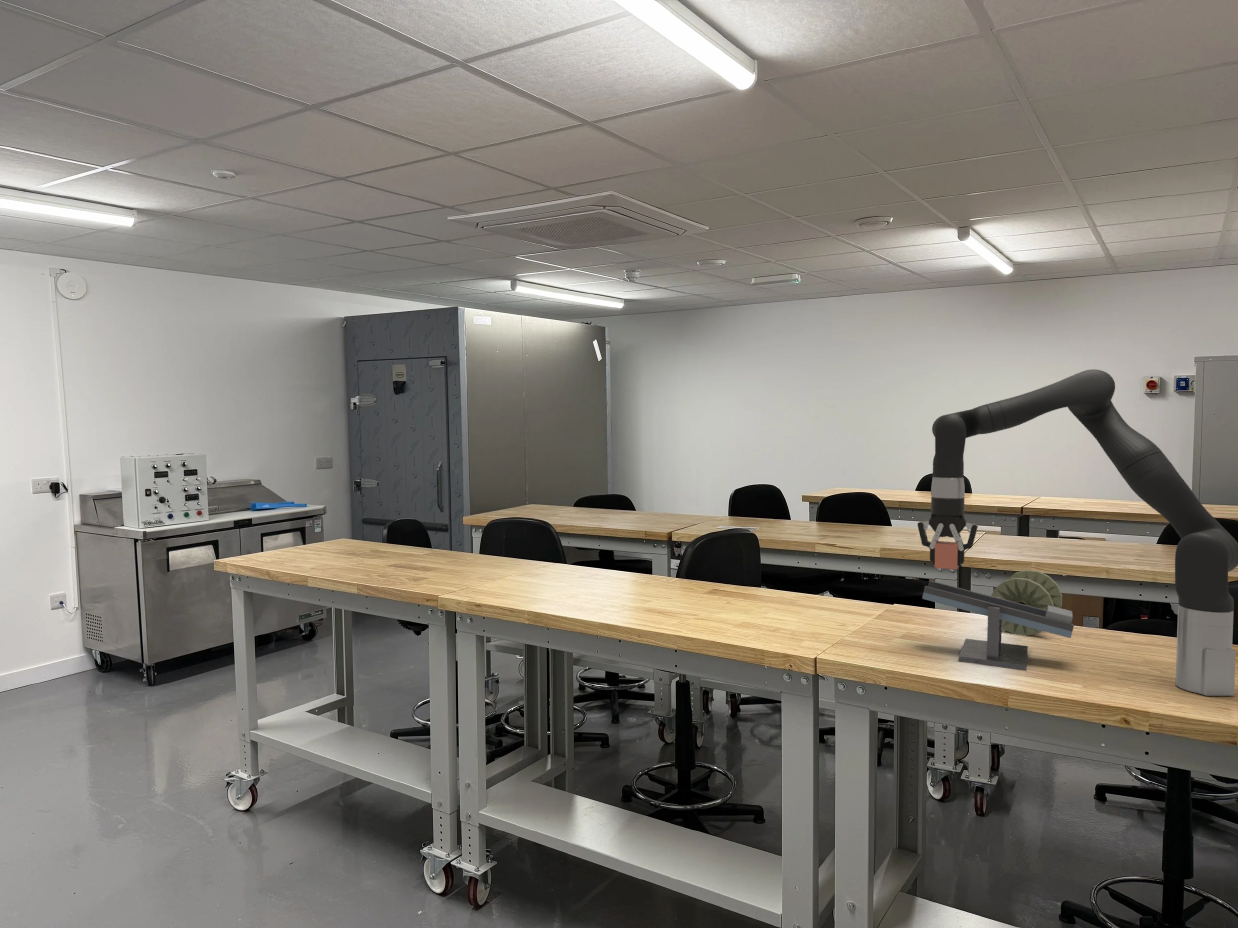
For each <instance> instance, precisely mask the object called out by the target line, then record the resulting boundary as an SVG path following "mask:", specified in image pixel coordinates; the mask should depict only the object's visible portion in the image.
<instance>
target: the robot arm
mask: <svg viewBox="0 0 1238 928" xmlns="http://www.w3.org/2000/svg"><path fill="white" fill-rule="evenodd" d="M1115 392H1116V382H1115V380H1114V378H1113V376H1111V374H1109V372H1106V371H1104V370H1101V369H1086V370H1083V371H1080V372H1078V373H1075V374H1073V375H1071V376H1068V377H1066V378H1063V379H1061V380H1059V381H1056V382H1054V383H1051V384H1048V385H1045V386H1043V387H1041V388H1038V389H1037V388H1036V389H1035V390H1032V391H1028V392H1025V393H1022V394H1018V395H1016V396H1013V397H1008V398H1004V399H1000V400H997V401H993V402H988V403H986V404H983V405H979V406H977V407H974V408H971V409H965V410H960V411H957V412H951V413H948V414H943V415H941V416H938V417H937V418H936V419H935V420H934V421H933V423H932V426H931V431H932V434H933V437H934V455H933V460H932V481H931V487H930V488H931V490H930V499H931V501H930V503H931V504H930V518H929V519H928V520H927V521H918V522H917V528H918V532H919V538H920V541H921V545H922V546H923V547H927V548H928V549H929V561H930V562H931V563H932V565H935V543H937V542H938V541H940V538H946V537H947V538H952V539H954V542H956V544H958V549H959V550H958V566H959V567H962V565H963V564H964V563H965V551H966V550H970V549H972V548H973V546H974V542H975V538H976V534H977V532H978V528H979V525H978V524H977V523H969V522H967V521H966V519H965V493H966V492H965V491H966V490H965V488H966V487H965V478H964V477H965V475H964V473H965V471H964V468H965V466H964V465H965V462H964V453H965V447H966V439H967V438H972V437H975V436H978V435H988V434H992V433H997V432H1000V431H1005V430H1008V429H1012V428H1014V427H1017V426H1020V425H1022V424H1024V423H1027V422H1030V421H1032V420H1034V419H1037V417H1040V416H1043V415H1045V414H1048V413H1050V412H1053V411H1056V410H1059V409H1063V408H1067V409H1068V410H1069V411H1070V413H1071V414H1072V415H1073V416H1074V417H1075V418H1076V419H1077V421H1079V422H1080V423H1081V424H1082V425H1083V426H1084V428H1085V429H1086V430H1087V432H1089V433H1090V435H1092V436H1093V437H1094V438H1095V440H1096V441H1097V443H1098V444H1099V445H1100V447H1101V449H1102V451H1103V452H1104V453H1105V455H1106V456H1107V458H1108V459H1109V460H1110V462H1111V463H1112V464H1113V465H1114V467H1115V468H1116V470H1117V471H1118V473H1119V475H1120V476H1121V477H1122V479H1123V480H1124V481H1125V482H1126V484H1127V485H1128V486H1129V488H1130V490H1132V491H1133V492H1134V493H1135V494H1136V495H1137V497H1139V498H1140V500H1142V501H1143V502H1144V503H1146V504H1147V505H1148V506H1149V507H1151V508H1152V509H1153V510H1154V511H1156V512H1157V514H1159V515H1161V516H1162V517H1163V519H1165V520H1167V521H1168V523H1169V524H1170V525H1171V526H1172V528H1174V531H1175V532H1176V534H1178V536H1179V537H1180V540H1179V542H1178V543H1177V545H1176V549H1175V554H1174V555H1175V556H1174V558H1175V559H1174V587H1175V592H1176V595H1177V597H1178V606H1177V632H1176V633H1177V634H1176V659H1175V661H1176V665H1175V685H1176V687H1178V688H1179V689H1182V690H1184V691H1188V692H1191V693H1195V694H1200V695H1203V696H1208V697H1209V696H1211V697H1212V696H1213V697H1214V696H1218V697H1220V696H1221V697H1222V696H1225V697H1227V696H1228V697H1229V696H1232V697H1233V696H1235V686H1236V685H1235V683H1236V682H1235V681H1236V657H1237V651H1236V649H1234V648H1233V637H1234V636H1233V631H1234V630H1233V629H1234V627H1233V626H1234V610H1235V609H1234V608H1235V600H1234V597H1233V596H1232V595H1231V594H1230V592H1229V573H1230V572H1231V571H1233V570H1235V569H1236V568H1237V567H1238V542H1237V540H1236V539H1235V538H1234V536H1232V534H1230V532H1228V531H1227V529H1225V527H1223V526H1222V524H1221V523H1220V522H1219V521H1218V520H1217V519H1216V518H1215V517H1214V516H1213V515H1212V514H1211V513H1210V512H1209V511H1208V510H1207V509H1206V508H1205V507H1204V505H1203V504H1202V503H1201V502H1200V500H1199V499H1198V498H1197V496H1196V495H1195V493H1194V492H1193V491H1192V489H1191V488H1190V486H1189V485H1188V484H1187V482H1186V481H1185V479H1183V477H1182V476H1181V475H1180V473H1179V472H1178V471H1177V469H1176V467H1175V466H1174V465H1173V463H1172V462H1171V461H1170V460H1169V459H1168V457H1167V456H1166V455H1165V453H1163V451H1162V449H1161V448H1160V447H1158V445H1156V444H1155V442H1153V441H1152V440H1151V439H1150V438H1148V437H1146V436H1144V435H1143V434H1142V433H1140V432H1138V431H1137V430H1135V429H1134V428H1132V427H1131V426H1130V424H1128V423H1127V421H1125V419H1124V418H1123V417H1122V416H1121V414H1120V413H1119V412H1118V410H1117V408H1116V406H1115V405H1114V403H1113V401H1112V399H1113V396H1114V394H1115ZM928 526H930V528H931V529H932V530H933V532H934V534H933V537H932V539H931V541H930V540H929V539H928V536H927V530H928V528H929V527H928ZM964 528H966V529H967V530H966V531H967V533H969V535H968V539H967V543H965V544H964V540H963V538H962V536H961V532H962V531H963V530H964Z"/></svg>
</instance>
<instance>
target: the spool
mask: <svg viewBox="0 0 1238 928" xmlns="http://www.w3.org/2000/svg"><path fill="white" fill-rule="evenodd" d="M990 596H993V597H1002V599H1004V600H1008V601H1012V602H1016V603H1020V604H1024V605H1028V606H1032V607H1035V608H1039V609H1043V610H1047V607H1048V605H1049V606H1053V607H1057V608H1061V609H1062V607H1063V594H1062V592H1061V589H1060V586H1059V585H1058V583H1057V582H1056V581H1055V580H1054V579H1053V578H1052V577H1051V576H1050V575H1047V574H1046V573H1043V572H1041V571H1039V570H1031V569H1030V570H1029V569H1025V570H1021V571H1018V572H1017V571H1016V572H1015V573H1014V574H1012V575H1011V576H1010V577H1008V578H1007V579H1006V580H1004V581H1002V582H1001V583H1000V584H998V585H997V586H996V587H994V589H993V591H992V593H991V595H990ZM1002 630H1005V631H1006V632H1009V634H1010V633H1011V634H1013V635H1016V636H1023V637H1025V636H1026V637H1027V636H1033V635H1036V634H1039V633H1041V632H1042V631H1041V630H1037V629H1034V628H1030V627H1026V626H1023V625H1019V624H1015V623H1011V622H1008V621H1004V620H1002Z"/></svg>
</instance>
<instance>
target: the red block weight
mask: <svg viewBox="0 0 1238 928" xmlns="http://www.w3.org/2000/svg"><path fill="white" fill-rule="evenodd" d="M958 550H959V549H958V544H956V542H955V541H944V540H941V541H940V540H938V542H937V543H935V564H934V569H942V570H943V569H944V570H958V569H959V567H960V566H958Z"/></svg>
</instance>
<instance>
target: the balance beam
mask: <svg viewBox="0 0 1238 928" xmlns="http://www.w3.org/2000/svg"><path fill="white" fill-rule="evenodd" d="M921 598H922V600H926V601H930V602H933V603H937V604H940V605H944V606H948V607H952V608H956V609H959V610H963V611H967V612H971V613H975V614H977V615H978V614H979V615H983V616H985V617H988V607H997V608H1000V620H1004V621H1008V622H1011V623H1015V624H1019V625H1023V626H1026V627H1030V628H1034V629H1037V630H1041V632H1045V633H1049V634H1053V635H1057V636H1060V637H1065V638H1067V639H1071V638H1072V635H1073V630H1074V627H1075V624H1074V623H1073V618H1074V617H1073V611H1072V610H1069V609H1065V608H1062V607H1061V608H1057V607H1053V606H1049V605H1048V607H1047V610H1043V609H1039V608H1035V607H1032V606H1028V605H1024V604H1020V603H1016V602H1012V601H1008V600H1004V599H1000V598H996V597H993V596H991V595H988V594H985V593H981V592H977V591H973V590H968V589H964V588H961V587H956V586H953V585H949V584H946V583H945V584H944V583H941V582H937V581H935V580H928V585H925V586H924V589H923V593H922V597H921Z"/></svg>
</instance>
